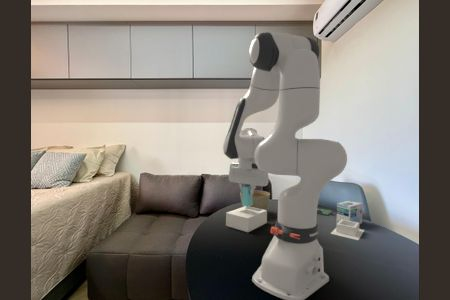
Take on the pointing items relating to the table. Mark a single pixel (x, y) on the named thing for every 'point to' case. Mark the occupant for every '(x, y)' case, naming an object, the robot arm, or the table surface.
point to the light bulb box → (349, 211)
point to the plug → (246, 195)
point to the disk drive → (324, 212)
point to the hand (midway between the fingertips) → (247, 193)
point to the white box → (246, 218)
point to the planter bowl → (259, 199)
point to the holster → (348, 229)
